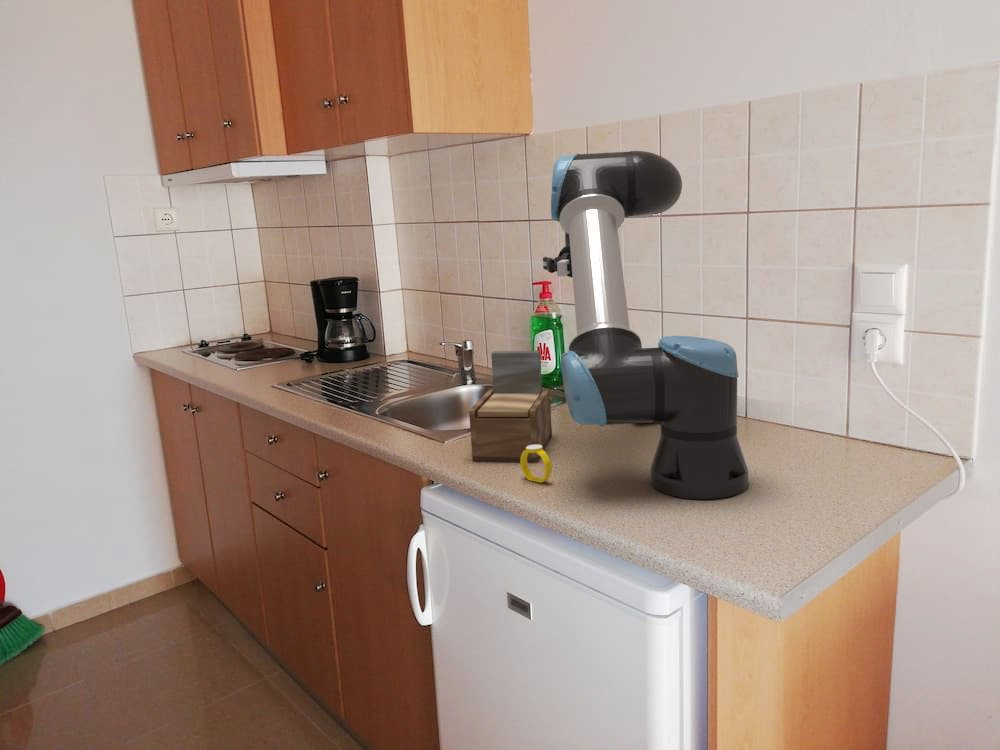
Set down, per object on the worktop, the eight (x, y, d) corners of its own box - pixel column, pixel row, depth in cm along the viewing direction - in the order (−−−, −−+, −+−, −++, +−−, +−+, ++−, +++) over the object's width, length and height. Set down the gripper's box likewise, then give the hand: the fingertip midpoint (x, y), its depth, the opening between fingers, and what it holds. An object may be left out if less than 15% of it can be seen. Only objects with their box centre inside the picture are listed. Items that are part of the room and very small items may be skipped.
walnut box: (537, 462, 140) (535, 410, 138) (472, 461, 143) (469, 410, 141) (551, 435, 155) (549, 388, 153) (492, 435, 158) (489, 389, 156)
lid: (528, 416, 139) (525, 367, 137) (477, 416, 141) (474, 367, 139) (542, 395, 154) (540, 350, 152) (496, 396, 156) (493, 351, 154)
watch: (555, 482, 130) (554, 447, 129) (544, 487, 128) (542, 452, 127) (529, 474, 134) (527, 441, 133) (518, 479, 132) (516, 445, 131)
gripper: (606, 274, 176) (595, 287, 154) (548, 277, 179) (529, 289, 157) (605, 241, 175) (593, 248, 152) (547, 243, 178) (527, 251, 155)
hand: (561, 269), depth 154 cm, fingers closed
